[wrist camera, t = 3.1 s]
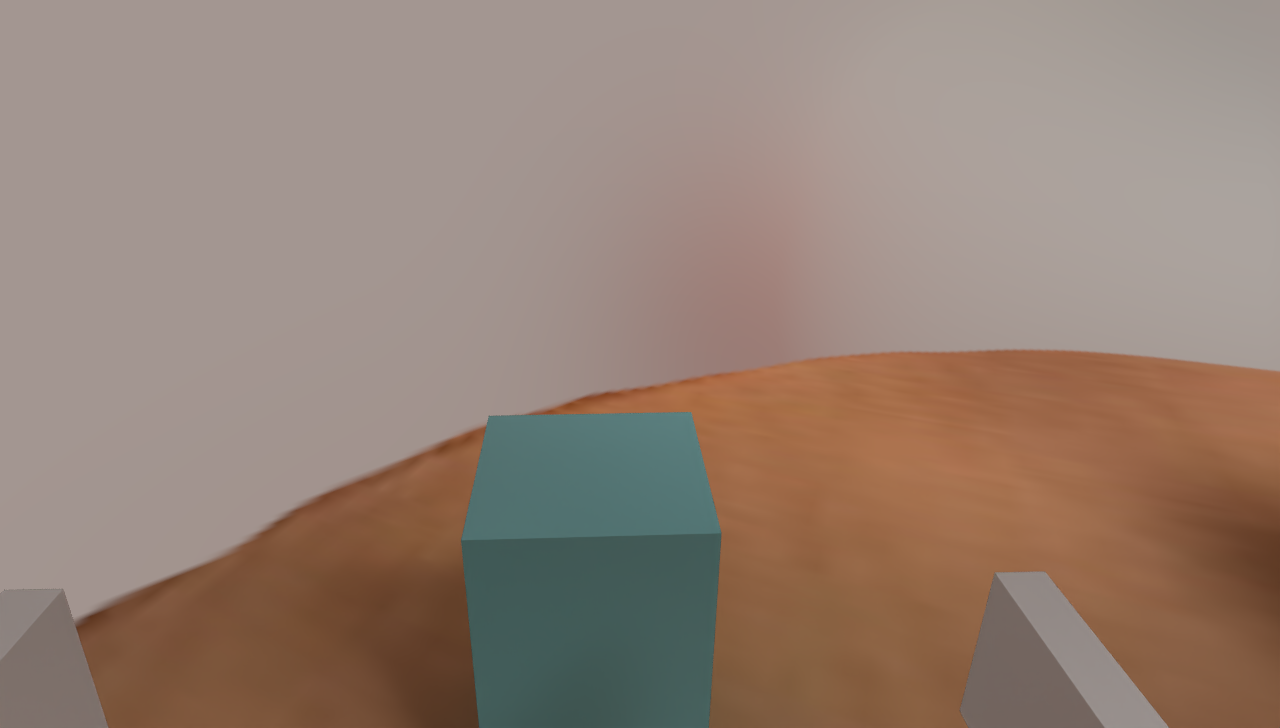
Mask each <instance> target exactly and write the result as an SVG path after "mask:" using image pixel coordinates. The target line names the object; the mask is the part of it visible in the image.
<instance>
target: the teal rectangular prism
mask: <svg viewBox="0 0 1280 728" xmlns="http://www.w3.org/2000/svg"><path fill="white" fill-rule="evenodd" d="M461 544H462V555H463V565H464V575H465V586H466V596H467V607H468V617H469V627H470V638H471V648H472V658H473V669H474V679H475V690H476V700H477V710H478V721H479V728H709V716H710V700H711V685H712V669H713V654H714V639H715V623H716V608H717V592H718V577H719V562H720V546H721V530H720V526H719V522H718V518H717V514H716V510H715V506H714V502H713V498H712V494H711V490H710V486H709V482H708V478H707V474H706V470H705V466H704V462H703V458H702V454H701V450H700V446H699V442H698V438H697V434H696V430H695V426H694V422H693V418H692V414H691V412H674V413H619V414H564V415H509V416H489V418H488V422H487V427H486V431H485V436H484V440H483V445H482V449H481V454H480V458H479V462H478V467H477V471H476V476H475V480H474V485H473V489H472V494H471V498H470V503H469V507H468V512H467V516H466V521H465V525H464V530H463V534H462V539H461Z"/></svg>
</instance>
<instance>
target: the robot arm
mask: <svg viewBox="0 0 1280 728" xmlns="http://www.w3.org/2000/svg"><path fill="white" fill-rule="evenodd" d="M960 712H961V714H962V716H963V718H964V720H965V722H966V724H967V726H968V728H1169V727H1168V726H1167V724H1166V723H1165V722H1164V721H1163V719H1162V718H1161V717H1160V716H1159V714H1158V713H1157V712H1156V711H1155V709H1154V708H1153V707H1152V706H1151V704H1150V703H1149V702H1148V701H1147V699H1146V698H1145V697H1144V695H1143V694H1142V693H1141V692H1140V690H1139V689H1138V688H1137V687H1136V685H1135V684H1134V683H1133V682H1132V680H1131V679H1130V678H1129V677H1128V675H1127V674H1126V673H1125V672H1124V670H1123V669H1122V668H1121V667H1120V665H1119V664H1118V663H1117V662H1116V660H1115V659H1114V658H1113V657H1112V655H1111V654H1110V653H1109V651H1108V650H1107V649H1106V648H1105V646H1104V645H1103V644H1102V643H1101V641H1100V640H1099V639H1098V638H1097V636H1096V635H1095V634H1094V633H1093V631H1092V630H1091V629H1090V628H1089V626H1088V625H1087V624H1086V623H1085V621H1084V620H1083V619H1082V618H1081V616H1080V615H1079V614H1078V613H1077V611H1076V610H1075V609H1074V608H1073V606H1072V605H1071V604H1070V602H1069V601H1068V600H1067V599H1066V597H1065V596H1064V595H1063V594H1062V592H1061V591H1060V590H1059V589H1058V587H1057V586H1056V585H1055V584H1054V582H1053V581H1052V580H1051V579H1050V577H1049V576H1048V575H1047V574H1046V572H996V573H995V574H994V578H993V581H992V585H991V589H990V593H989V597H988V601H987V605H986V609H985V613H984V617H983V621H982V625H981V629H980V633H979V637H978V641H977V645H976V649H975V652H974V656H973V660H972V664H971V668H970V672H969V676H968V680H967V684H966V688H965V692H964V696H963V700H962V704H961V708H960ZM0 728H108V725H107V722H106V719H105V716H104V713H103V710H102V706H101V703H100V700H99V697H98V694H97V691H96V688H95V685H94V682H93V679H92V676H91V673H90V670H89V667H88V664H87V660H86V657H85V654H84V651H83V648H82V645H81V642H80V639H79V636H78V633H77V630H76V627H75V624H74V621H73V618H72V615H71V611H70V608H69V605H68V602H67V599H66V596H65V593H64V590H63V589H33V590H32V589H30V590H4V591H3V592H2V593H1V594H0Z"/></svg>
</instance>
